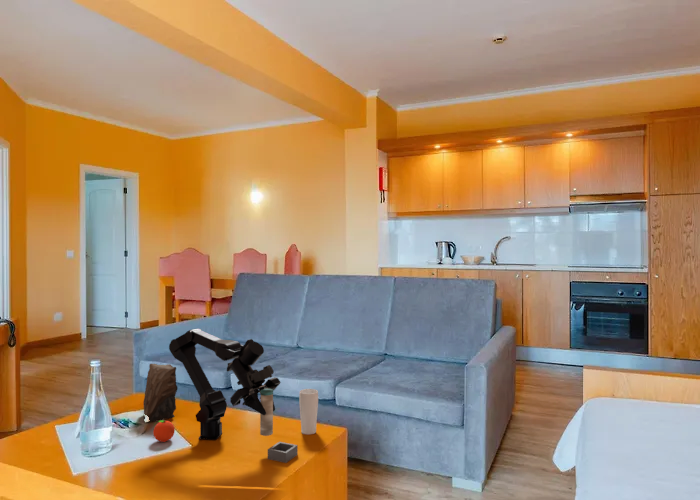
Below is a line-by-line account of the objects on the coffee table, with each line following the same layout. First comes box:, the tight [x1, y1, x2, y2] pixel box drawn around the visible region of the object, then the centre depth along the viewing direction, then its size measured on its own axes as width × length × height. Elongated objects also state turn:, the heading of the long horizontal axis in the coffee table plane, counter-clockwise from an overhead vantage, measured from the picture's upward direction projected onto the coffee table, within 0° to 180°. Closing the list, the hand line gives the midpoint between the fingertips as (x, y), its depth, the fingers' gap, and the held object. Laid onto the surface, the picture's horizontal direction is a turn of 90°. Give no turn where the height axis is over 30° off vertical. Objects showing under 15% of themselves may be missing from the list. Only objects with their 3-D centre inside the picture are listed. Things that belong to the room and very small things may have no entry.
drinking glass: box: [298, 388, 319, 435], centre depth 182 cm, size 7×7×15 cm
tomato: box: [153, 420, 176, 443], centre depth 175 cm, size 8×7×7 cm
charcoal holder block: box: [267, 441, 299, 464], centre depth 161 cm, size 7×7×4 cm
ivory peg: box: [259, 389, 274, 437], centre depth 164 cm, size 4×4×14 cm
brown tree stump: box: [143, 363, 178, 422], centre depth 200 cm, size 13×13×20 cm
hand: (269, 412), depth 164 cm, fingers closed on ivory peg, 4 cm apart
